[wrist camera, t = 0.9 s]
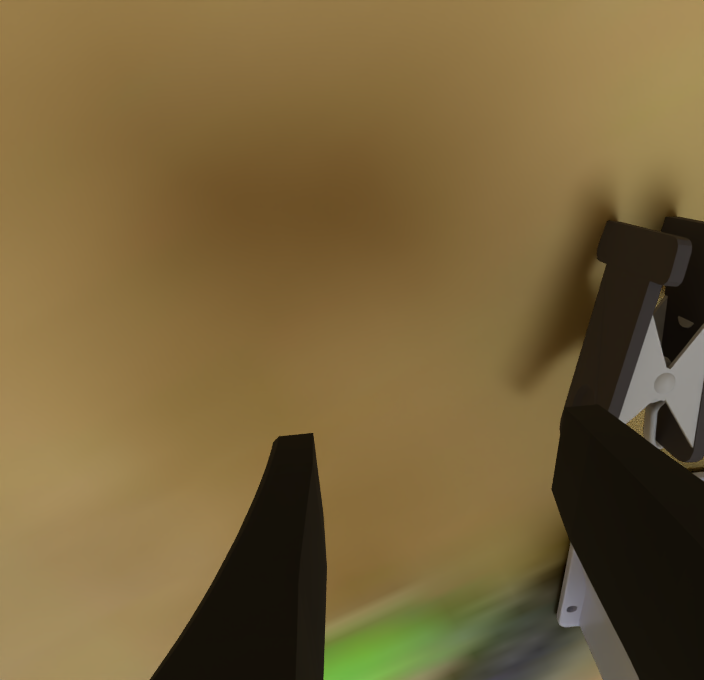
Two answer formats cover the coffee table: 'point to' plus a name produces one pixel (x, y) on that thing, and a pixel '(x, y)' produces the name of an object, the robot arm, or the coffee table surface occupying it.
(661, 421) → the clip-on lamp
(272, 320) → the coffee table surface
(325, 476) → the coffee table surface
